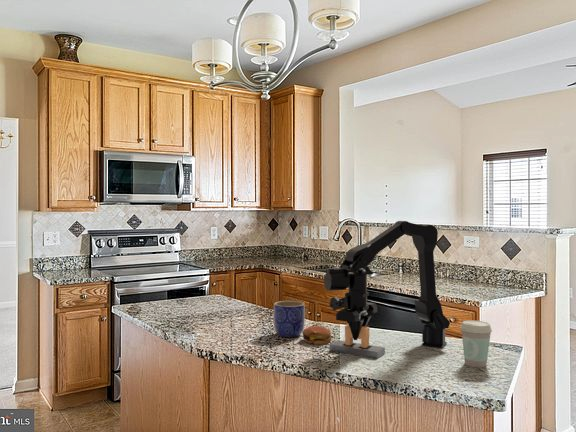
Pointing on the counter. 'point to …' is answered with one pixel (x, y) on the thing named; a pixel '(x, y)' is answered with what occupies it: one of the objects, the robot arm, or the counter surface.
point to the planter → (289, 318)
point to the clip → (362, 335)
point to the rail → (357, 349)
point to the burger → (317, 335)
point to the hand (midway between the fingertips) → (357, 339)
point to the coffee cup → (475, 342)
